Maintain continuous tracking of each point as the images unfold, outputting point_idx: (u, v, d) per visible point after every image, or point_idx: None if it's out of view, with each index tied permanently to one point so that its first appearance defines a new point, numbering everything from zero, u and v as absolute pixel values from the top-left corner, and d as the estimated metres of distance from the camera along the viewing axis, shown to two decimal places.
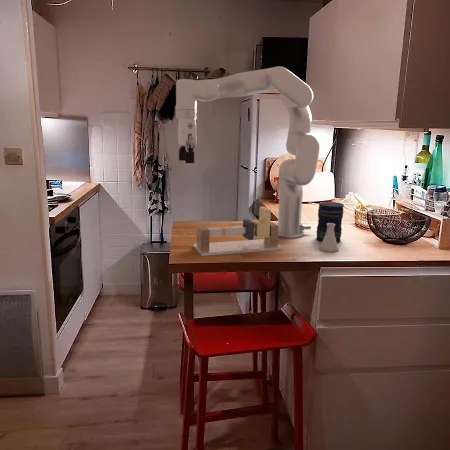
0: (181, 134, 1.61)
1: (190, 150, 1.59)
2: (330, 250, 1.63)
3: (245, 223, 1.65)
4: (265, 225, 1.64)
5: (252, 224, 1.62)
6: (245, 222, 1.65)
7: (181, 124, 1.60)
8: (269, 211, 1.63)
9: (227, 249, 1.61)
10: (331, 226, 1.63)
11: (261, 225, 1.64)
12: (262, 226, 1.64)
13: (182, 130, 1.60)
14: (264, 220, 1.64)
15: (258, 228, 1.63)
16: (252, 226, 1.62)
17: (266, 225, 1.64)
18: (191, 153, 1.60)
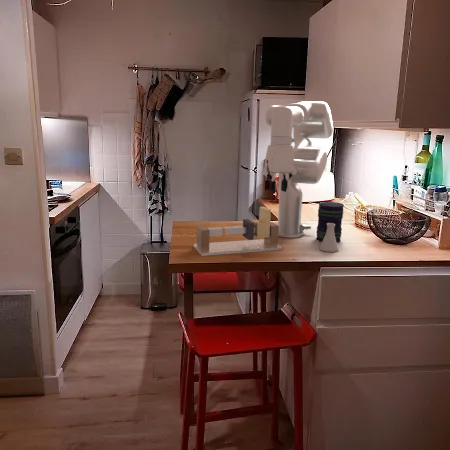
0: (287, 161, 1.61)
1: None
2: (330, 250, 1.63)
3: (245, 223, 1.65)
4: (265, 225, 1.64)
5: (252, 224, 1.62)
6: (245, 222, 1.65)
7: (288, 151, 1.60)
8: (269, 211, 1.63)
9: (227, 249, 1.61)
10: (331, 226, 1.63)
11: (261, 225, 1.64)
12: (262, 226, 1.64)
13: (290, 157, 1.61)
14: (264, 220, 1.64)
15: (258, 228, 1.63)
16: (252, 226, 1.62)
17: (266, 225, 1.64)
18: None
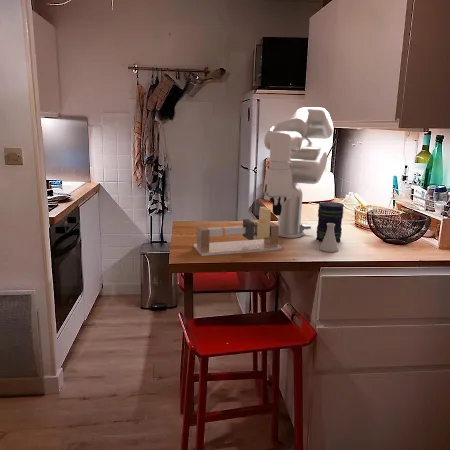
0: (285, 185, 1.63)
1: None
2: (330, 250, 1.63)
3: (245, 223, 1.65)
4: (265, 225, 1.64)
5: (252, 224, 1.62)
6: (245, 222, 1.65)
7: (286, 176, 1.62)
8: (269, 211, 1.63)
9: (227, 249, 1.61)
10: (331, 226, 1.63)
11: (261, 225, 1.64)
12: (262, 226, 1.64)
13: (288, 181, 1.63)
14: (264, 220, 1.64)
15: (258, 228, 1.63)
16: (252, 226, 1.62)
17: (266, 225, 1.64)
18: None
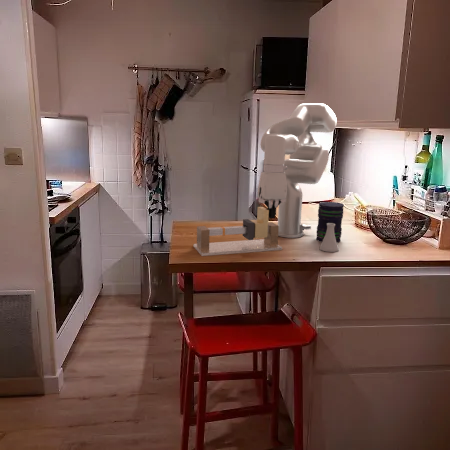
0: (280, 188, 1.63)
1: None
2: (330, 250, 1.63)
3: (245, 223, 1.65)
4: (263, 225, 1.64)
5: (252, 224, 1.62)
6: (245, 222, 1.65)
7: (281, 179, 1.62)
8: (267, 211, 1.63)
9: (227, 249, 1.61)
10: (331, 226, 1.63)
11: (259, 225, 1.63)
12: (260, 226, 1.63)
13: (283, 184, 1.63)
14: (262, 220, 1.64)
15: (256, 228, 1.63)
16: (252, 226, 1.62)
17: (264, 225, 1.64)
18: None
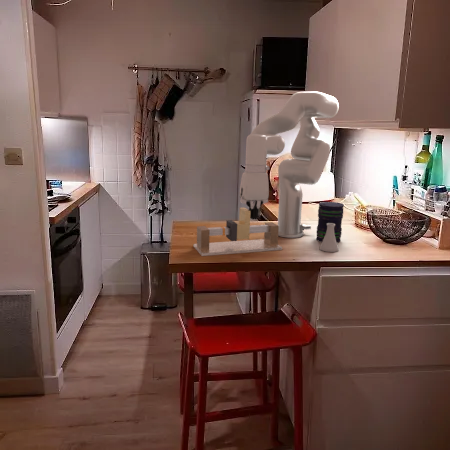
0: (262, 189, 1.61)
1: None
2: (330, 250, 1.63)
3: (228, 224, 1.63)
4: (245, 226, 1.62)
5: (235, 225, 1.60)
6: (228, 223, 1.63)
7: (262, 179, 1.60)
8: (249, 212, 1.60)
9: (227, 249, 1.61)
10: (331, 226, 1.63)
11: (240, 226, 1.61)
12: (241, 227, 1.61)
13: (265, 185, 1.61)
14: (244, 221, 1.62)
15: (237, 229, 1.61)
16: (235, 227, 1.60)
17: (246, 226, 1.62)
18: None
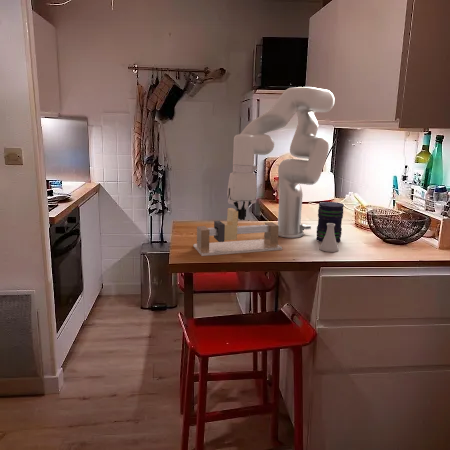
0: (249, 189, 1.59)
1: None
2: (330, 250, 1.63)
3: (216, 225, 1.61)
4: (232, 227, 1.60)
5: (222, 226, 1.58)
6: (216, 224, 1.61)
7: (250, 179, 1.58)
8: (236, 213, 1.59)
9: (227, 249, 1.61)
10: (331, 226, 1.63)
11: (228, 227, 1.60)
12: (229, 228, 1.60)
13: (252, 185, 1.59)
14: (231, 222, 1.60)
15: (225, 230, 1.59)
16: (222, 228, 1.58)
17: (233, 227, 1.60)
18: None
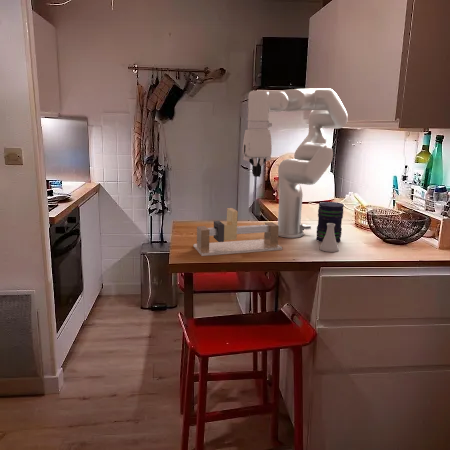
0: (264, 146, 1.61)
1: None
2: (330, 250, 1.63)
3: (215, 225, 1.61)
4: (232, 227, 1.60)
5: (222, 226, 1.58)
6: (215, 224, 1.61)
7: (265, 136, 1.60)
8: (236, 213, 1.59)
9: (227, 249, 1.61)
10: (331, 226, 1.63)
11: (228, 227, 1.59)
12: (229, 228, 1.60)
13: (267, 141, 1.61)
14: (231, 222, 1.60)
15: (224, 230, 1.59)
16: (222, 228, 1.58)
17: (233, 227, 1.60)
18: None
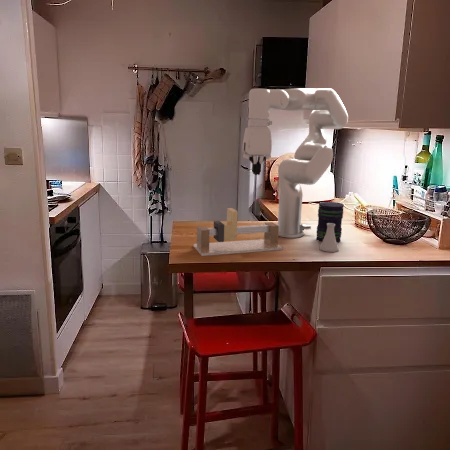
0: (264, 144, 1.61)
1: None
2: (330, 250, 1.63)
3: (215, 225, 1.61)
4: (232, 227, 1.60)
5: (222, 226, 1.58)
6: (215, 224, 1.61)
7: (265, 134, 1.60)
8: (236, 213, 1.59)
9: (227, 249, 1.61)
10: (331, 226, 1.63)
11: (228, 227, 1.59)
12: (229, 228, 1.60)
13: (267, 139, 1.61)
14: (231, 222, 1.60)
15: (224, 230, 1.59)
16: (222, 228, 1.58)
17: (233, 227, 1.60)
18: None
